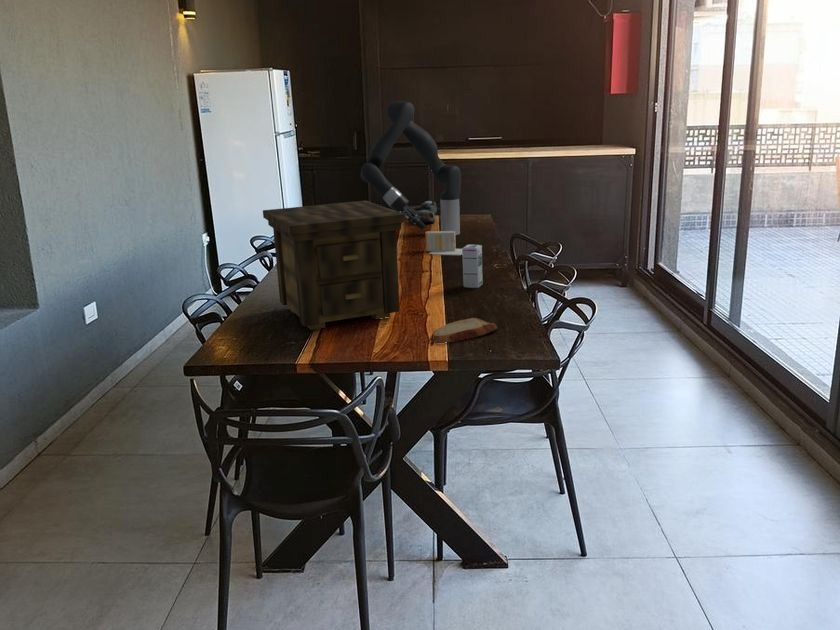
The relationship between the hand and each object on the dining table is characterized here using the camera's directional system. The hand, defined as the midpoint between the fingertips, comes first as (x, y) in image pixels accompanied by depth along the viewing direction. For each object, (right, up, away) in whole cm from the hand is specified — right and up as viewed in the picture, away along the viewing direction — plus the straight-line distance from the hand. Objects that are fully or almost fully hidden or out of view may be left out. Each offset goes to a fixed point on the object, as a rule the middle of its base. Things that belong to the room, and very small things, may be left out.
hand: (423, 228), depth 318 cm
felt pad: (+12, -10, 0) cm, 16 cm away
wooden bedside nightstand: (-28, -38, -83) cm, 96 cm away
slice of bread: (+11, -44, -108) cm, 117 cm away
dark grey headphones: (+1, +12, +75) cm, 76 cm away
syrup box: (+17, -27, -56) cm, 65 cm away
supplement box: (0, -5, +2) cm, 6 cm away
